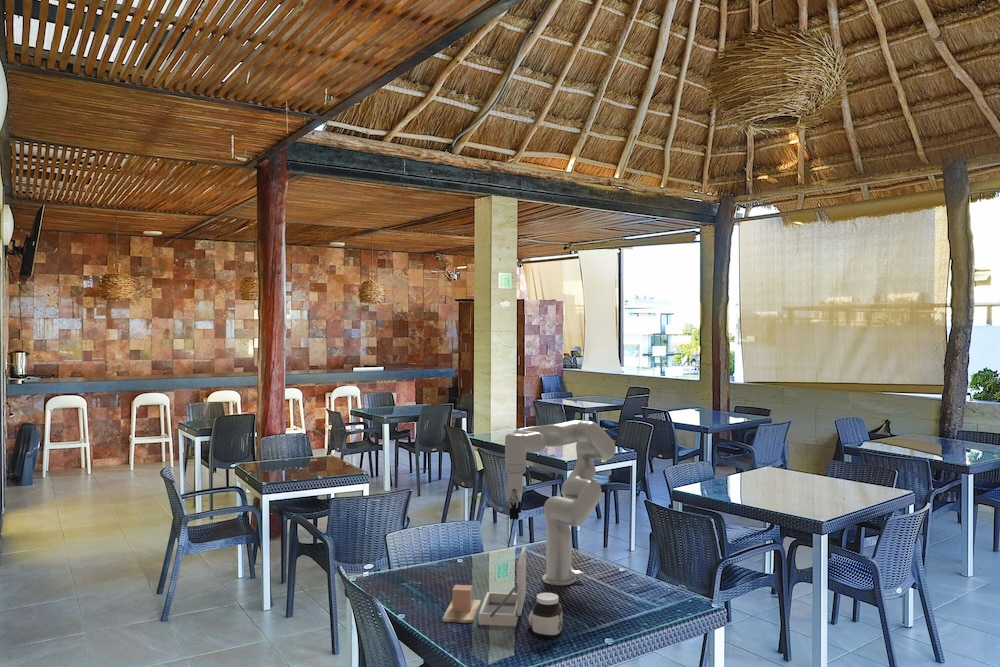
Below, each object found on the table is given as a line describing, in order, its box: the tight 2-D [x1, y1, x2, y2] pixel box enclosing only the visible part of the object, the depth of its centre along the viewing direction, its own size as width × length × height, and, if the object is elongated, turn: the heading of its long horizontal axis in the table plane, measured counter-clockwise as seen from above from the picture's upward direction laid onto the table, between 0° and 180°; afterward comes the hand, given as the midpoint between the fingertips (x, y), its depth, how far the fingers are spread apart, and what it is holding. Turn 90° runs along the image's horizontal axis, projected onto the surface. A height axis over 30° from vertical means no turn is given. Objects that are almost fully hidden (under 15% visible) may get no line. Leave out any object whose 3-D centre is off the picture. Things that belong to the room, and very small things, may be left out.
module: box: [451, 584, 474, 612], centre depth 237 cm, size 6×5×7 cm
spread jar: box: [528, 592, 563, 640], centre depth 220 cm, size 12×11×12 cm
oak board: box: [441, 599, 482, 624], centre depth 236 cm, size 10×18×1 cm, turn 173°
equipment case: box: [478, 546, 527, 627], centre depth 234 cm, size 14×21×20 cm, turn 173°
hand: (515, 515), depth 253 cm, fingers open, 9 cm apart
